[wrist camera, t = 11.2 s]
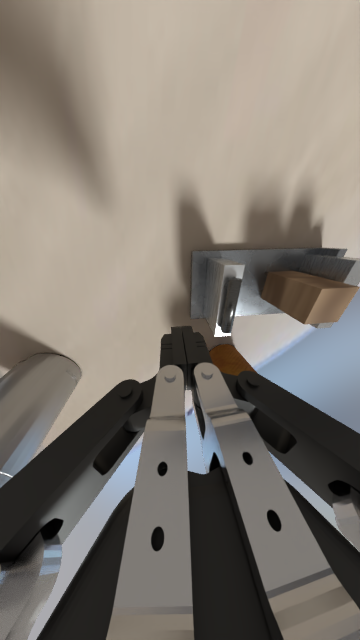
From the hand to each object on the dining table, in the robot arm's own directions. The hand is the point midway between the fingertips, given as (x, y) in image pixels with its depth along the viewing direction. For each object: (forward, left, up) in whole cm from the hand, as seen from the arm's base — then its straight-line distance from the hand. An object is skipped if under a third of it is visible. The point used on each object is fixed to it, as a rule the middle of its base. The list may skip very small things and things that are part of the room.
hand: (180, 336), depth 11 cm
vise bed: (+12, 0, -12) cm, 17 cm away
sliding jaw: (+6, 0, -12) cm, 13 cm away
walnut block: (+16, 0, -11) cm, 19 cm away
